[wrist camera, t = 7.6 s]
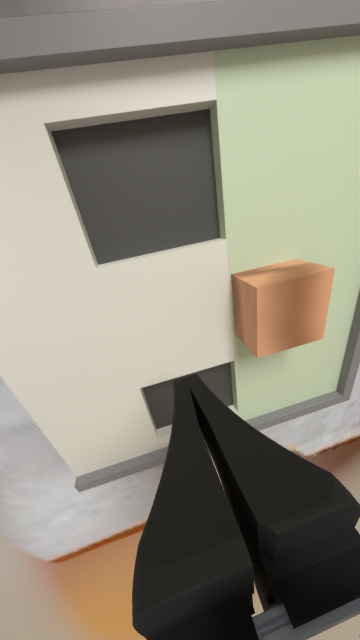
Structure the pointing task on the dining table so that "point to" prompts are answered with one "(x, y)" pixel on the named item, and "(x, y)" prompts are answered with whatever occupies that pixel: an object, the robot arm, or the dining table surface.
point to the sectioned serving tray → (172, 213)
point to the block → (281, 305)
